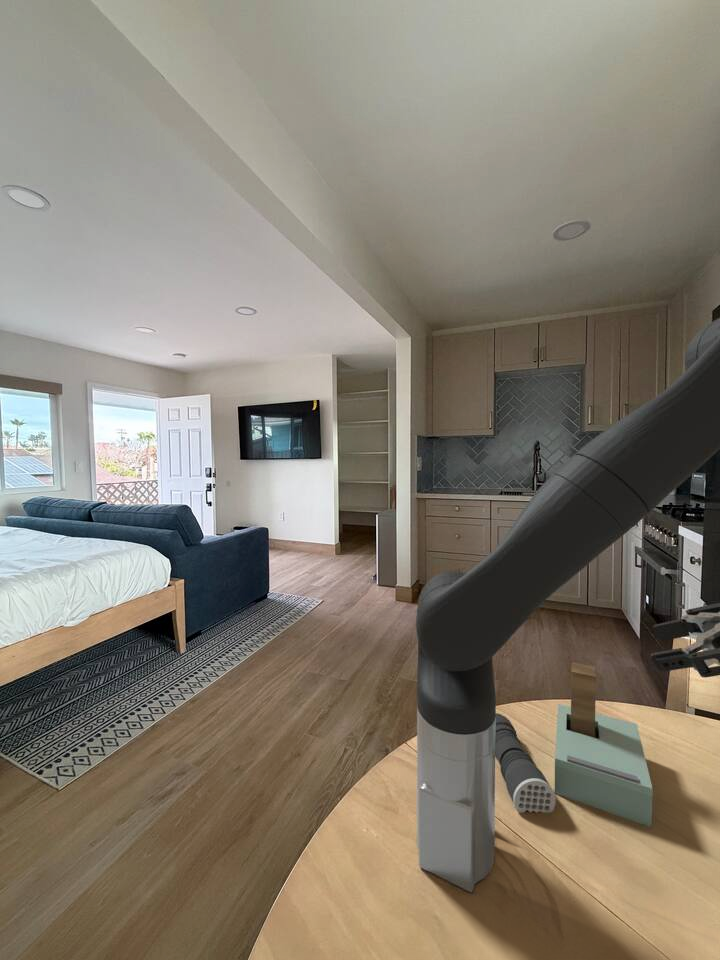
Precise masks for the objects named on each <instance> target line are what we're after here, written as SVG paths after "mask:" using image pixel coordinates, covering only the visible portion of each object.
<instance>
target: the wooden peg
mask: <svg viewBox="0 0 720 960" xmlns="http://www.w3.org/2000/svg"><path fill="white" fill-rule="evenodd" d="M570 682H571V683H570V688H571V689H570V707H571V731H572V732H576V733H580V734H583V735H587V736H590V737H594V738H595V713H596V700H597V698H596V697H597V694H596V692H597V675H596V666H592V665H587V664H582V663H579V662H571V680H570Z"/></svg>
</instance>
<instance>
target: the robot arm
mask: <svg viewBox="0 0 720 960" xmlns="http://www.w3.org/2000/svg"><path fill="white" fill-rule="evenodd" d="M684 366H685V370H686V371H685V372H683V374H681V375H680V376H679V377H678V378H676V380H675V381H674V382H673V383H671V384H670V385H669V386H667V387H666V389H664V390H662V391H661V392H660V393H658V394H657V395H656V396H654V397H653V398H652V399H650V400H648V401H647V402H646V403H644V404H642V405H641V406H639V407H638V408H636V409H635V410H633V411H632V412H630V413H628V414H627V415H625V416H623V418H621V419H619V420H618V421H617V422H615V423H613V424H612V425H611V426H609V427H608V428H606V429H604V430H603V431H602V432H601V433H600V434H598V435H596V437H594V438H593V439H591V440H590V441H589V442H588V443H586V444H585V445H584V446H583V447H581V448H580V449H579V450H577V451H576V453H574V454H573V455H572V456H571V457H570V458H569V459H567V460H566V461H565V463H564V464H563V465H561V466H560V467H559V468H558V469H557V470H556V471H555V472H553V474H552V475H550V476H549V477H548V479H546V480H545V482H544V483H542V485H541V486H540V487H539V488H538V489H537V491H535V493H534V495H533V496H532V497H531V498H530V500H529V501H528V502H527V504H526V506H525V507H524V508H523V509H522V511H521V513H520V514H519V516H518V517H517V519H516V520H515V522H514V523H513V525H512V526H511V528H510V529H509V530H508V531H507V534H506V535H505V536H504V538H502V540H501V541H500V543H499V544H498V545H497V546H496V547H495V548H494V549H493V550H492V551H491V552H490V553H489V554H488V555H487V556H485V558H484V559H482V560H481V561H479V563H478V564H476V565H475V566H474V567H473V568H471V569H470V570H468V571H467V572H463V571H462V572H461V571H455V570H454V571H453V570H452V571H444V572H440V573H438V574H437V575H435V576H433V577H432V578H430V579H429V580H428V581H427V582H426V583H425V585H424V586H423V587H422V590H421V592H420V594H419V597H418V600H417V608H416V618H415V619H416V620H415V629H416V637H417V671H416V674H417V675H416V678H417V680H416V717H417V718H416V720H417V721H416V722H417V723H416V726H417V728H416V789H417V790H416V811H417V812H416V814H417V815H416V819H417V820H416V830H417V831H416V836H417V837H416V838H417V839H416V840H417V849H418V866H419V868H421V869H423V870H425V871H427V872H429V873H431V874H433V875H436V876H438V877H439V878H441V879H443V880H445V881H446V882H449V883H451V884H453V885H456V886H457V887H459V888H461V889H463V890H466V891H467V892H469V893H473V891H474V887H475V885H476V884H477V883H478V882H480V881H482V880H483V879H485V878H486V877H487V876H488V875H489V874H490V872H491V871H492V869H493V867H494V863H495V856H496V855H495V854H496V853H495V849H496V847H495V843H496V842H495V841H496V829H495V828H496V825H495V824H496V823H495V821H496V817H495V816H496V815H495V814H496V813H495V812H496V809H495V808H496V757H495V734H496V713H497V712H496V711H497V709H496V708H497V705H496V704H497V700H496V699H497V697H496V685H495V678H494V667H493V664H494V663H493V657H494V655H496V654H497V653H498V652H499V651H500V649H501V648H503V646H504V645H505V644H506V643H507V642H508V641H509V640H510V638H511V637H512V636H513V635H514V634H516V632H517V631H518V630H519V629H520V628H521V626H522V625H523V624H524V623H525V622H527V620H528V619H529V618H530V617H531V616H532V614H534V613H535V611H537V610H538V608H539V607H540V606H541V605H542V604H544V602H546V600H547V599H549V598H550V597H551V596H552V595H553V594H554V593H556V591H558V590H559V589H560V588H561V587H563V586H564V585H565V584H566V583H567V582H569V581H570V580H571V579H572V578H574V577H575V576H576V575H577V574H578V573H580V572H581V571H582V570H584V568H586V567H587V566H588V565H589V564H590V563H591V562H593V561H594V559H596V558H598V556H599V555H601V554H602V553H603V552H604V551H605V550H607V549H608V548H609V547H610V546H612V545H613V544H615V543H616V542H617V541H618V540H620V539H621V538H622V537H623V536H624V535H625V534H627V533H628V531H631V530H632V529H633V527H634V526H636V525H637V524H638V523H639V522H640V521H642V520H643V519H644V518H645V517H646V516H648V515H649V514H650V513H651V512H652V511H654V509H655V508H656V507H658V506H659V504H661V503H662V502H663V500H665V499H667V497H668V496H670V494H671V493H672V492H674V491H675V490H677V488H678V487H679V486H680V485H681V484H683V483H684V482H685V481H686V480H687V479H688V478H690V477H691V476H692V475H693V474H694V473H695V472H696V471H697V470H698V469H700V468H702V466H703V465H704V464H705V463H706V462H707V461H708V460H710V459H711V458H712V457H713V456H714V455H715V454H716V453H717V452H718V451H719V450H720V317H718V318H716V319H715V320H714V321H712V322H710V323H709V324H707V325H706V326H704V327H703V328H702V329H701V330H699V331H698V332H697V333H696V334H695V335H694V336H693V337H692V339H690V342H689V344H688V345H687V347H686V350H685V354H684ZM652 629H653V631H654V634H656V636H657V638H658V639H659V640H660V641H662V642H663V641H670V640H675V639H681V638H685V637H690V636H691V635H692V636H696V637H695V642H693V643H691V644H689V645H687V646H685V647H683V648H682V647H678V648H672V649H667V650H662V651H661V650H660V651H657V652H652V653H651V655H650V660H651V661H652V663H653V665H654V666H655V668H656V670H658V671H659V672H663V673H664V672H670V671H677V670H684V669H690V668H693V670H694V671H697V673H698V674H699V675H700V677H701V678H711V677H712V678H713V677H718V676H720V602H719V603H718V602H717V603H713V604H708V605H707V604H706V605H703V606H698V607H694V608H689V609H687V610H686V611H685V615H682V616H681V617H680V619H675V620H669V621H665V622H662V623H657V624H654V625H653V627H652ZM715 664H716V665H715ZM712 665H715V666H712Z"/></svg>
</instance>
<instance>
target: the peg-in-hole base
mask: <svg viewBox="0 0 720 960" xmlns="http://www.w3.org/2000/svg"><path fill="white" fill-rule="evenodd" d="M556 715H557V716H556V717H557V719H556V734H555V751H554V754H555V755H554V791H553V792H554V794H556V795H558V796H561V797H563V798H567V799H569V800H571V801H572V800H573V801H575V802H578V803H581V804H584V805H587V806H590V807H592V808H594V809H595V808H596V809H599V810H601V811H603V812H606V813H609V814H612V815H615V816H618V817H620V818H623V819H627V820H630V821H632V822H635V823H638V824H641V825H644V826H647V827H650V828H652V826H653V823H652V821H653V820H652V819H653V793H654V792H653V791H654V790H653V784H652V781H651V777H650V773H649V768H648V764H647V759H646V756H645V753H644V748H643V744H642V740H641V735H640V733H639V728H638V724H637V723H636V722H632V721H628V720H623V719H620V718H615V717H611V716H608V715H605V714H604V715H603V714H601V713H596V712H595V738H594V737H590V736H587V735H583V734H580V733H576V732H572V731H571V706H568V705H565V704H564V705H563V704H560V703H557V714H556Z"/></svg>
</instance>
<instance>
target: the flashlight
mask: <svg viewBox="0 0 720 960" xmlns="http://www.w3.org/2000/svg"><path fill="white" fill-rule="evenodd" d="M495 759H496V760H497V761H498V763H499V767H500V769H499V770H500V773H501V775H502V778H503V781H504V783H505V785H506V787H505V788H506V790H507V793H508V795H509V797H510V799H511V801H512V803H513V805H514V807H515V809H516V811H517V813H518V814H522V813H525V812H526V811H528V812H529V813H532V812H535V813H540V812H541V813H553V812H554V809H555V806H556V801H557V800H556V795H555V793H554V792H555V791H554V790H553V788H552V786H551V785H550V783H549V781H548V780H547V778H546V777H545V775H544V774H543V772H542V770H540V769H539V768H538V767H537V765H536V763H535V762H534V760H533V758H532V757H531V756H530V755H529V754H528V753H526V752H525V750H524V748H523V746H522V744H521V741H520V739H519V738H518V735H517V731H516V729H515V727H514V726H513V723H512V722H511V720H510V719H509V718H508V717H506V716H504V715H503V714H501V713H497V712H496V734H495Z"/></svg>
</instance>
